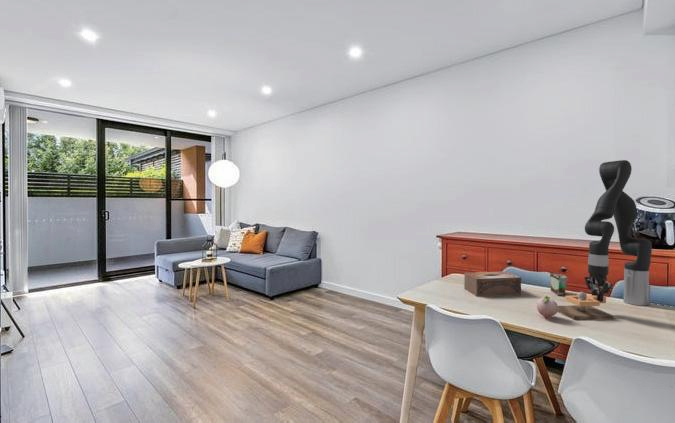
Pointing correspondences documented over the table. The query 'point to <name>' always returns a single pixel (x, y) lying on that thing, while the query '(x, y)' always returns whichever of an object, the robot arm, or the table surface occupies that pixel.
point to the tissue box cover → (492, 283)
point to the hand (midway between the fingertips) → (597, 300)
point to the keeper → (583, 311)
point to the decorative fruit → (547, 307)
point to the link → (589, 301)
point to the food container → (558, 284)
